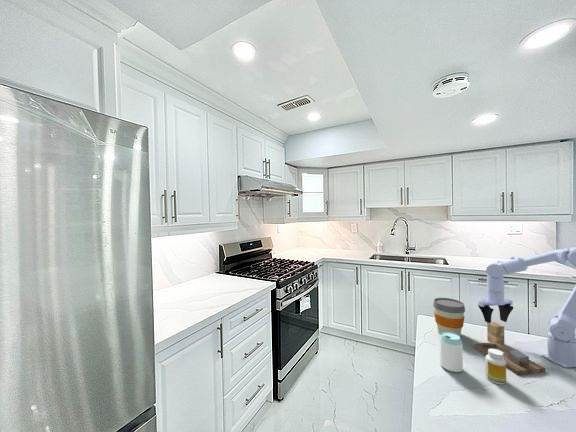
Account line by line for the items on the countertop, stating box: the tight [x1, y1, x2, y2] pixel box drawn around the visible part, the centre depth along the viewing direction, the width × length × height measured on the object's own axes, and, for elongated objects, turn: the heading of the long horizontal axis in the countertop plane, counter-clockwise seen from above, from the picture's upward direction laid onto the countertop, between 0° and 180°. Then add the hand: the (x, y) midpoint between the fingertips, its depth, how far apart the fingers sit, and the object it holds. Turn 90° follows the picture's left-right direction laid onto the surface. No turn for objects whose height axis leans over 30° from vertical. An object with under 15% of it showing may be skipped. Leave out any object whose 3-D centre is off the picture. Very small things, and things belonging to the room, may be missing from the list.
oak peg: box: [486, 321, 505, 346], centre depth 107 cm, size 4×4×8 cm
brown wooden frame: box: [473, 341, 546, 376], centre depth 95 cm, size 11×18×2 cm, turn 6°
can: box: [439, 332, 464, 373], centre depth 91 cm, size 7×7×12 cm
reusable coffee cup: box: [432, 297, 466, 337], centre depth 116 cm, size 12×13×15 cm
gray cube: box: [508, 350, 530, 366], centre depth 91 cm, size 4×4×4 cm
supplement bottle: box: [485, 348, 507, 385], centre depth 84 cm, size 5×5×10 cm
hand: (495, 321), depth 107 cm, fingers open, 7 cm apart
